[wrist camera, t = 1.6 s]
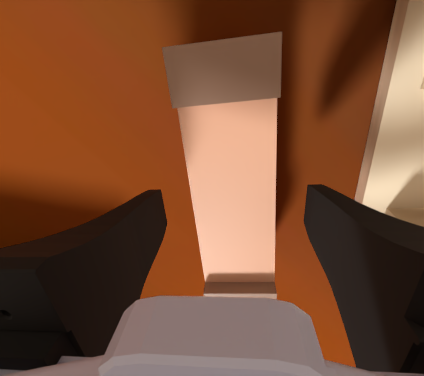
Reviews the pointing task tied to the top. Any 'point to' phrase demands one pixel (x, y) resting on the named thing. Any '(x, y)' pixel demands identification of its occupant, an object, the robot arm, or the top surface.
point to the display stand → (398, 123)
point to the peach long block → (231, 155)
